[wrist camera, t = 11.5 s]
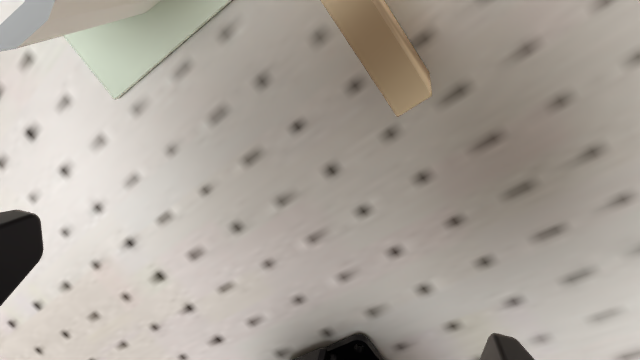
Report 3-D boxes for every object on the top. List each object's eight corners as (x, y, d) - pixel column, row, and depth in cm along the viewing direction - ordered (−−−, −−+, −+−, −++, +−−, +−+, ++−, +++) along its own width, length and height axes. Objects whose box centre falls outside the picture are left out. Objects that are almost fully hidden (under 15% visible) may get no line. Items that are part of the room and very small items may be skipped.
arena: (429, 73, 17) (432, 95, 14) (122, 270, 24) (69, 319, 20) (108, -440, 14) (-5, -596, 10) (-148, -38, 20) (-272, -44, 17)
